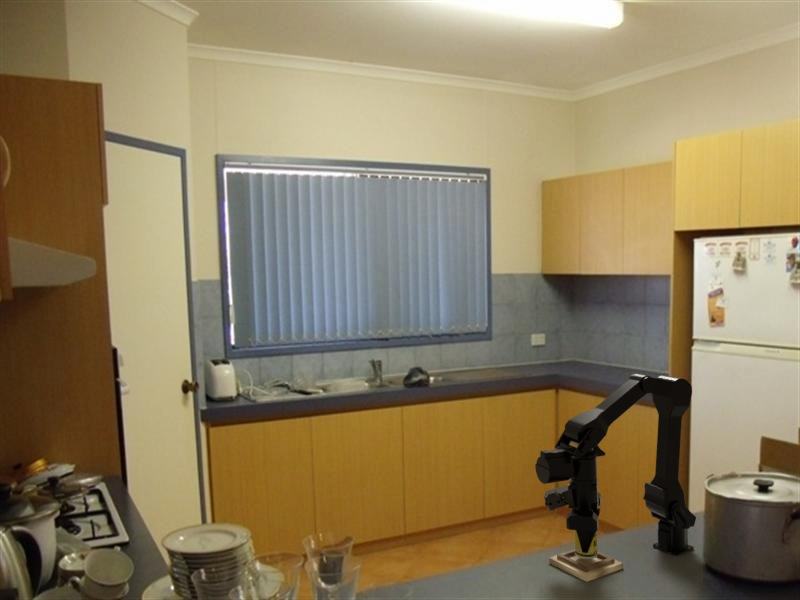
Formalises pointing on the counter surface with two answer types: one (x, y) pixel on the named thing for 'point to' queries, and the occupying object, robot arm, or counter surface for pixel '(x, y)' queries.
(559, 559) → the coaster board
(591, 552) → the supplement bottle
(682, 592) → the counter surface
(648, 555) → the counter surface
